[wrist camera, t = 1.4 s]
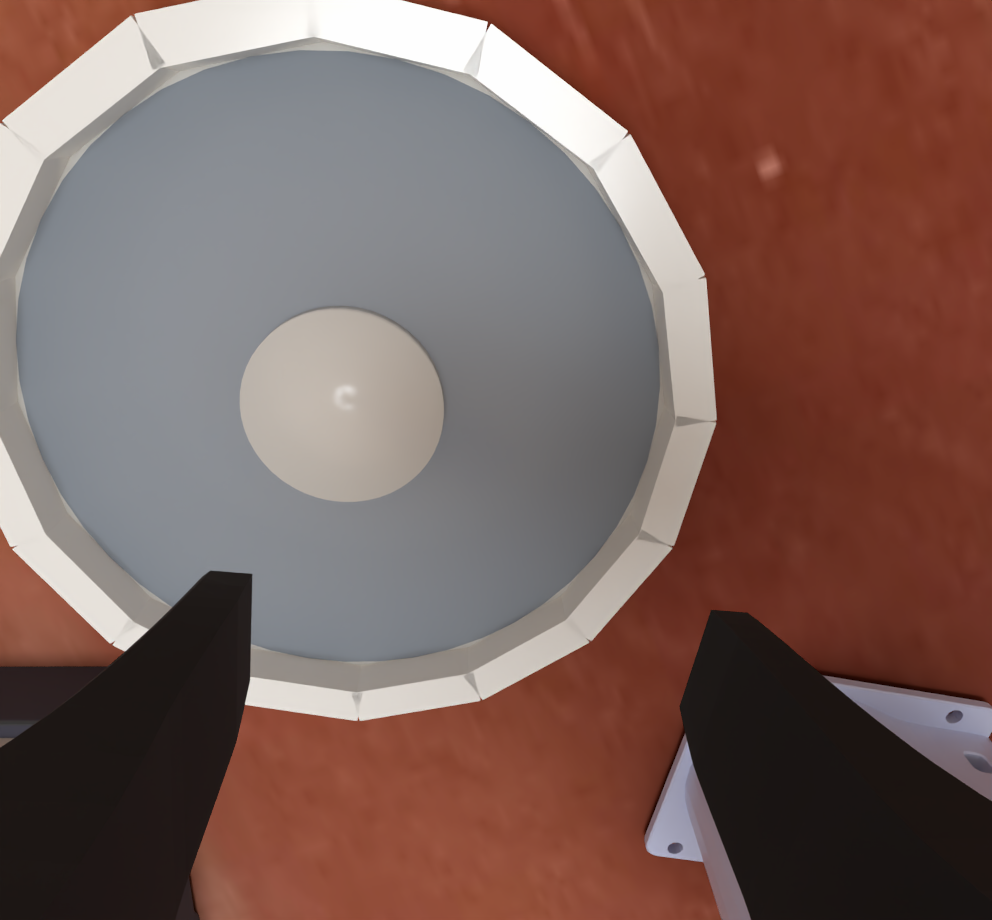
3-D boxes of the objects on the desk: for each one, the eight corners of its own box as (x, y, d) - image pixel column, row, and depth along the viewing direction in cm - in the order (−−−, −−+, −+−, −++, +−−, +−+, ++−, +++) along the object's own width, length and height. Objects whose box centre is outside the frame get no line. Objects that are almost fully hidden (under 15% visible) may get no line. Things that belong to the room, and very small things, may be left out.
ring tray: (793, 106, 18) (825, 105, 17) (592, 714, 25) (601, 756, 24) (-27, -97, 16) (-83, -120, 15) (-4, 624, 23) (-40, 663, 22)
